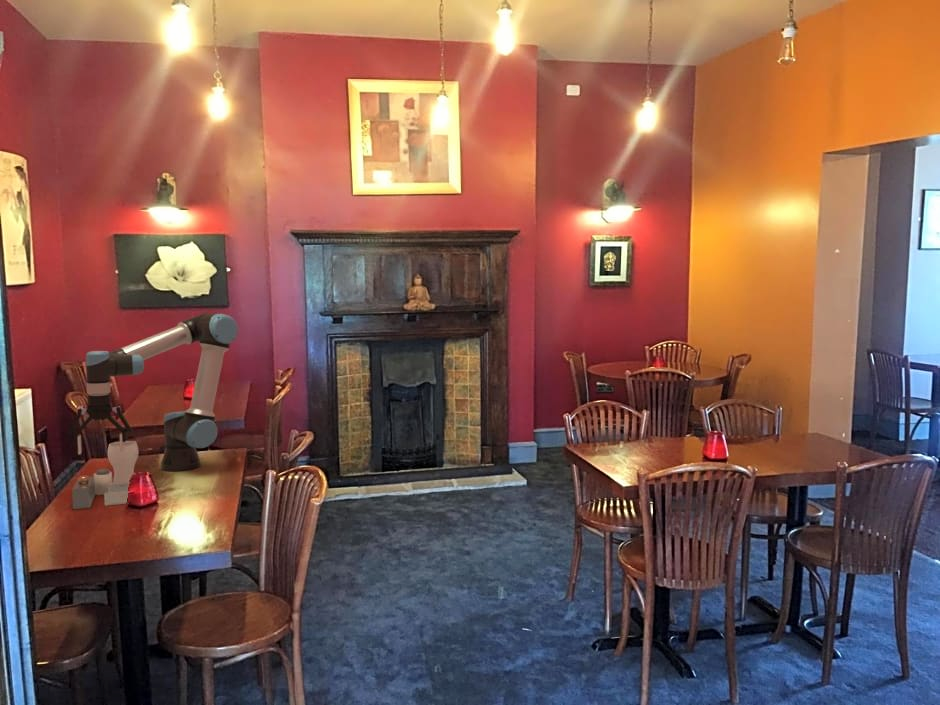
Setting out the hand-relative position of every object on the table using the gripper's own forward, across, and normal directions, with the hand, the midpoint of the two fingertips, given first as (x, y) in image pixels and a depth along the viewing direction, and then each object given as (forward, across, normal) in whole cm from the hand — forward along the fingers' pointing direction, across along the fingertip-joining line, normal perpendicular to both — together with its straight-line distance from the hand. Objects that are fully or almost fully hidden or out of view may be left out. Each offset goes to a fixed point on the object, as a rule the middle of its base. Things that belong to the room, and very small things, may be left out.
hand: (101, 452), depth 267 cm
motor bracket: (+15, -2, +11) cm, 18 cm away
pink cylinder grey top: (+15, 0, 0) cm, 15 cm away
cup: (+15, -6, -12) cm, 20 cm away
